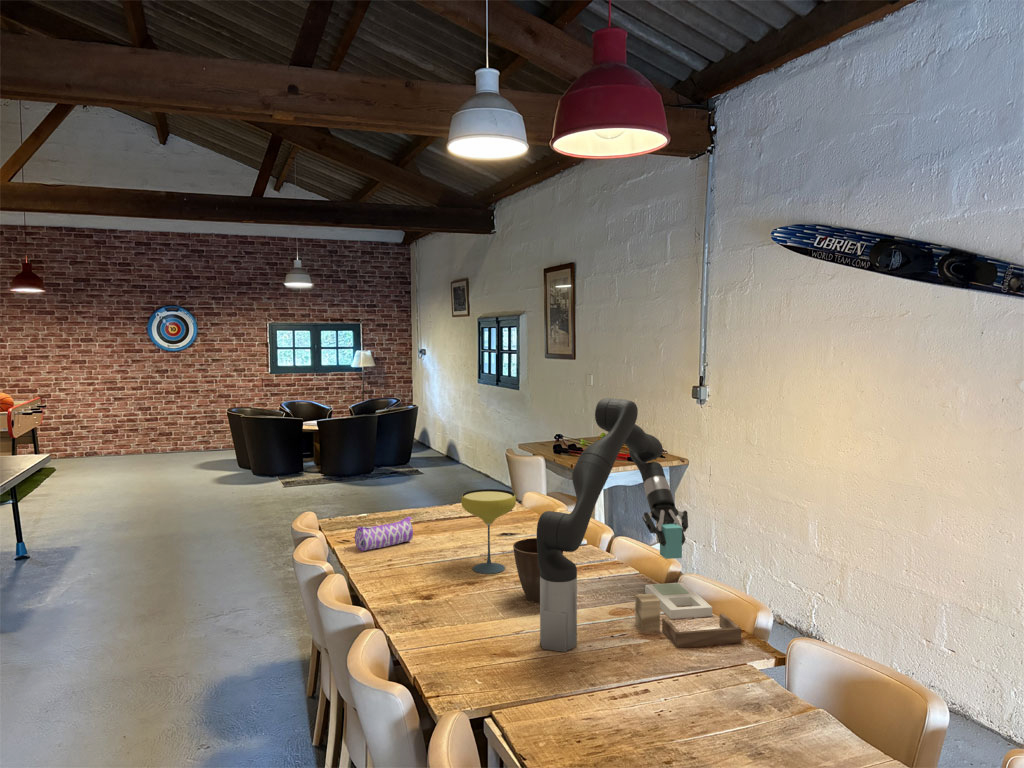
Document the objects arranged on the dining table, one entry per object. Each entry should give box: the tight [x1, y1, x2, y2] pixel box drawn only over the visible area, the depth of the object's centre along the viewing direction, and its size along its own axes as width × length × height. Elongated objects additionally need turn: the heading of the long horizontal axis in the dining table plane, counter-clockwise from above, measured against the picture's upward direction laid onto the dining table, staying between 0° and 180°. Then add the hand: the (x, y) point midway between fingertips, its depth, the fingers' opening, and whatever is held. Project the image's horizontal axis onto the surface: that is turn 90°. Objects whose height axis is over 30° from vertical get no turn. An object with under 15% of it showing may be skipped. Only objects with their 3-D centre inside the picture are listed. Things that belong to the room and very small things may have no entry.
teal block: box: [659, 524, 683, 560], centre depth 205 cm, size 4×5×9 cm
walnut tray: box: [661, 613, 742, 648], centre depth 179 cm, size 10×17×4 cm, turn 99°
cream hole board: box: [644, 582, 713, 620], centre depth 201 cm, size 20×12×3 cm, turn 9°
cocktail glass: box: [460, 488, 517, 575], centre depth 232 cm, size 18×18×25 cm
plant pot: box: [512, 537, 564, 604], centre depth 206 cm, size 15×15×16 cm
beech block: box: [634, 593, 661, 632], centre depth 185 cm, size 5×5×8 cm
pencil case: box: [354, 516, 414, 552], centre depth 260 cm, size 22×9×10 cm, turn 128°
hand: (673, 543), depth 204 cm, fingers closed on teal block, 5 cm apart
